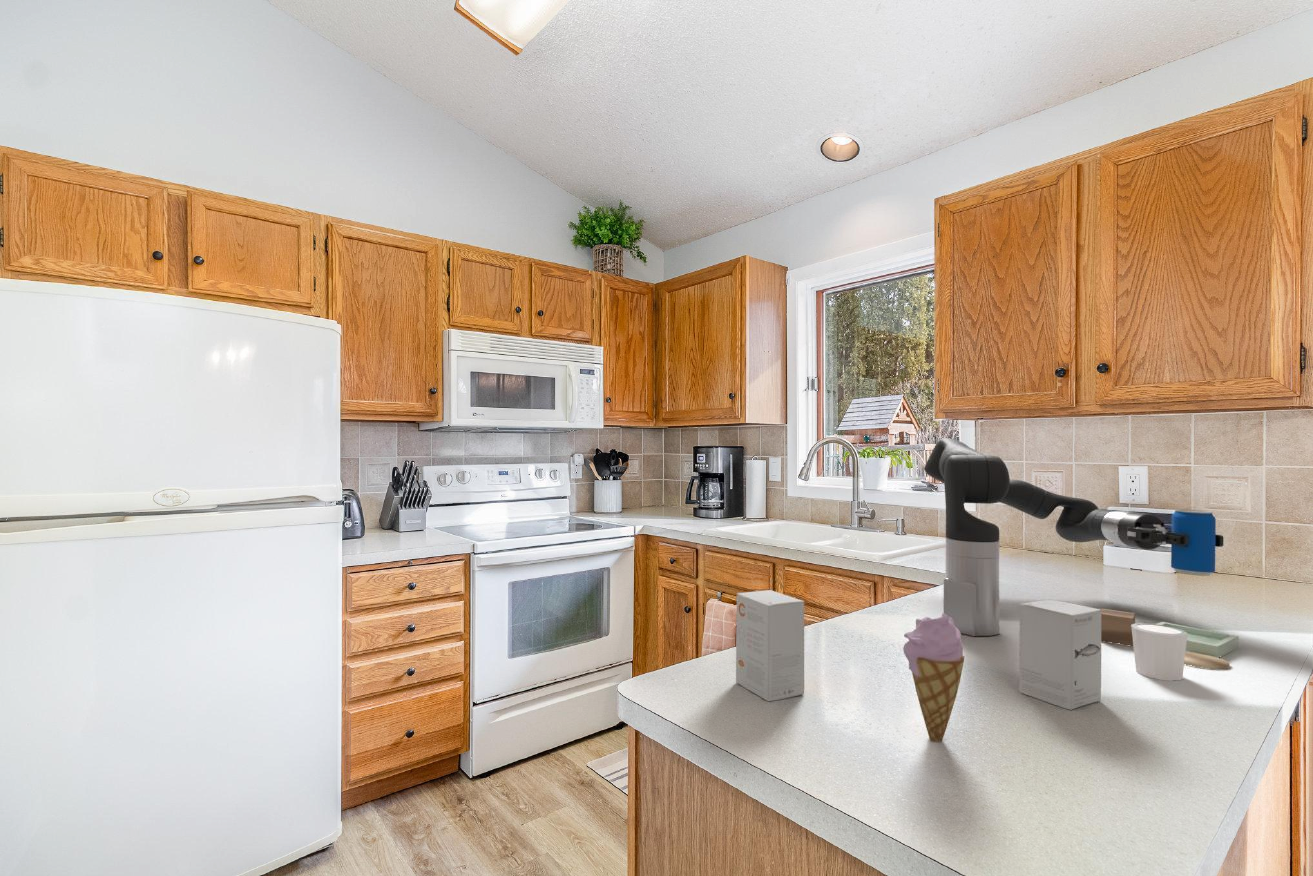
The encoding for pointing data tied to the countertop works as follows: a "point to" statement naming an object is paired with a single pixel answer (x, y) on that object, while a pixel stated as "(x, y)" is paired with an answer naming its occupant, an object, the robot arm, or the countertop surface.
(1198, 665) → the cork coaster
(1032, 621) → the supplement box
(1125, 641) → the walnut block
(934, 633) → the ice cream cone
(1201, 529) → the beverage can
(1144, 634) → the white cup
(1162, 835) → the countertop surface
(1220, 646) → the tray
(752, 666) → the small box
